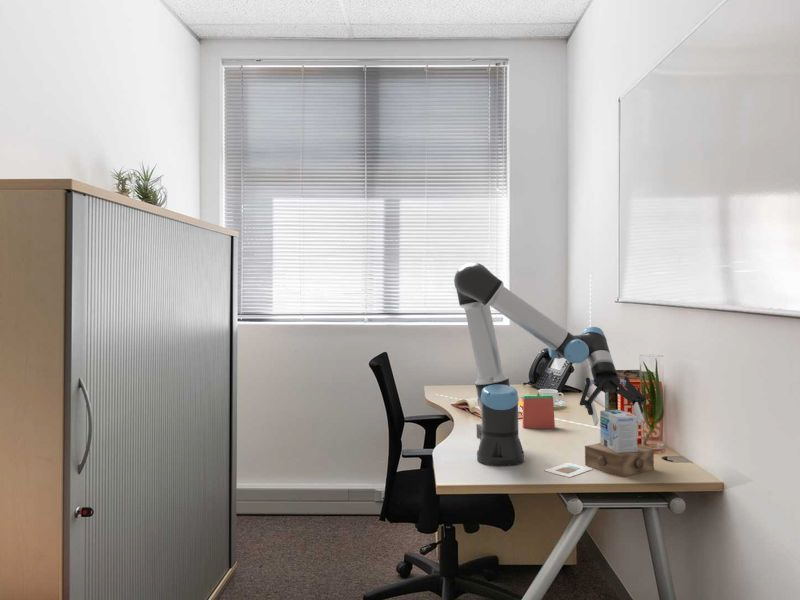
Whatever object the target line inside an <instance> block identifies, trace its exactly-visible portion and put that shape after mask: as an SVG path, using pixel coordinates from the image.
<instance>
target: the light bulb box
mask: <svg viewBox="0 0 800 600" xmlns="http://www.w3.org/2000/svg"><path fill="white" fill-rule="evenodd" d="M599 417H600V418H599V419H600V423H599V425H600V427H599V431H600V432H599V433H600V439H599V441H600V442H599V443H600V444H601V445H603V446H605V447H607V448H609V449H611V450H613V451H615V452H617V453H625V452H637V445H638V421H637V416H636V414H635V415H634V414H632V413H630V412H626V411H623V410H620V409H608V410H600V411H599Z"/></svg>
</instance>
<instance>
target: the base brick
mask: <svg viewBox="0 0 800 600" xmlns="http://www.w3.org/2000/svg"><path fill="white" fill-rule="evenodd" d="M654 454H655V453H654V449H653V448H650V447H645V446H641V445H638V444H637V452H625V453H617V452H615V451H613V450H611V449H609V448H607V447H605V446H603V445H601V444H600V442H599V443H593V444H589V445H585V446H584V463H585V464H584V465H585V467H588V468H592V469H596V470H599V471H601V472H604V473H608V474H612V475H615V476H617V475H618V477H621V478H622V476H623V477H627V476H631V475H637V474H641V473H644V472H649V471H653V470H654V469H655V465H654V463H655V461H654V459H655V457H654Z"/></svg>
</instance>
